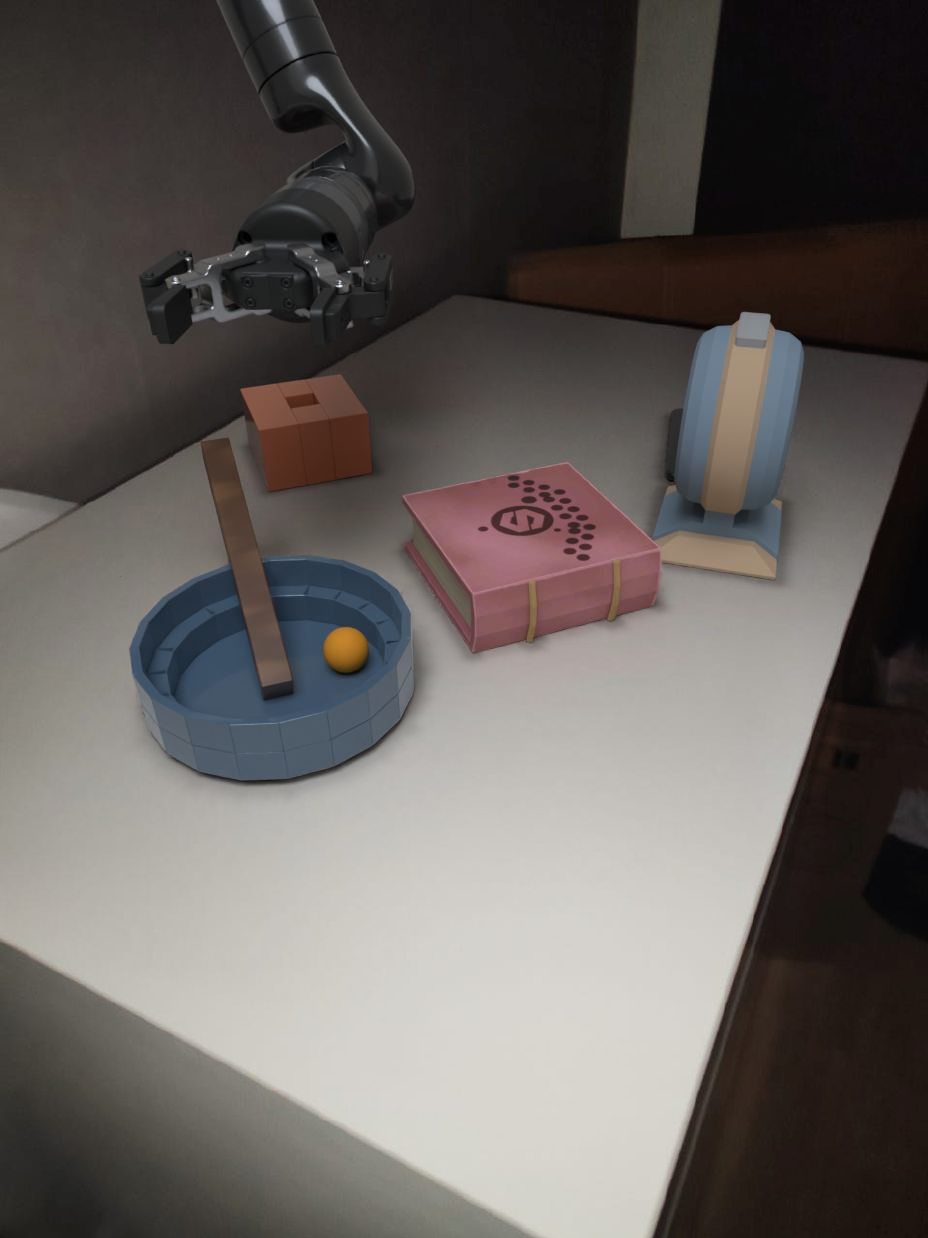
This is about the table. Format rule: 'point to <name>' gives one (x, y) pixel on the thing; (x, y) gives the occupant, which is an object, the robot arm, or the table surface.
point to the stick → (247, 571)
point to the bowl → (227, 681)
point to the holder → (307, 431)
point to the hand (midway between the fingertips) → (239, 328)
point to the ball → (346, 649)
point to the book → (529, 555)
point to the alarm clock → (733, 450)
